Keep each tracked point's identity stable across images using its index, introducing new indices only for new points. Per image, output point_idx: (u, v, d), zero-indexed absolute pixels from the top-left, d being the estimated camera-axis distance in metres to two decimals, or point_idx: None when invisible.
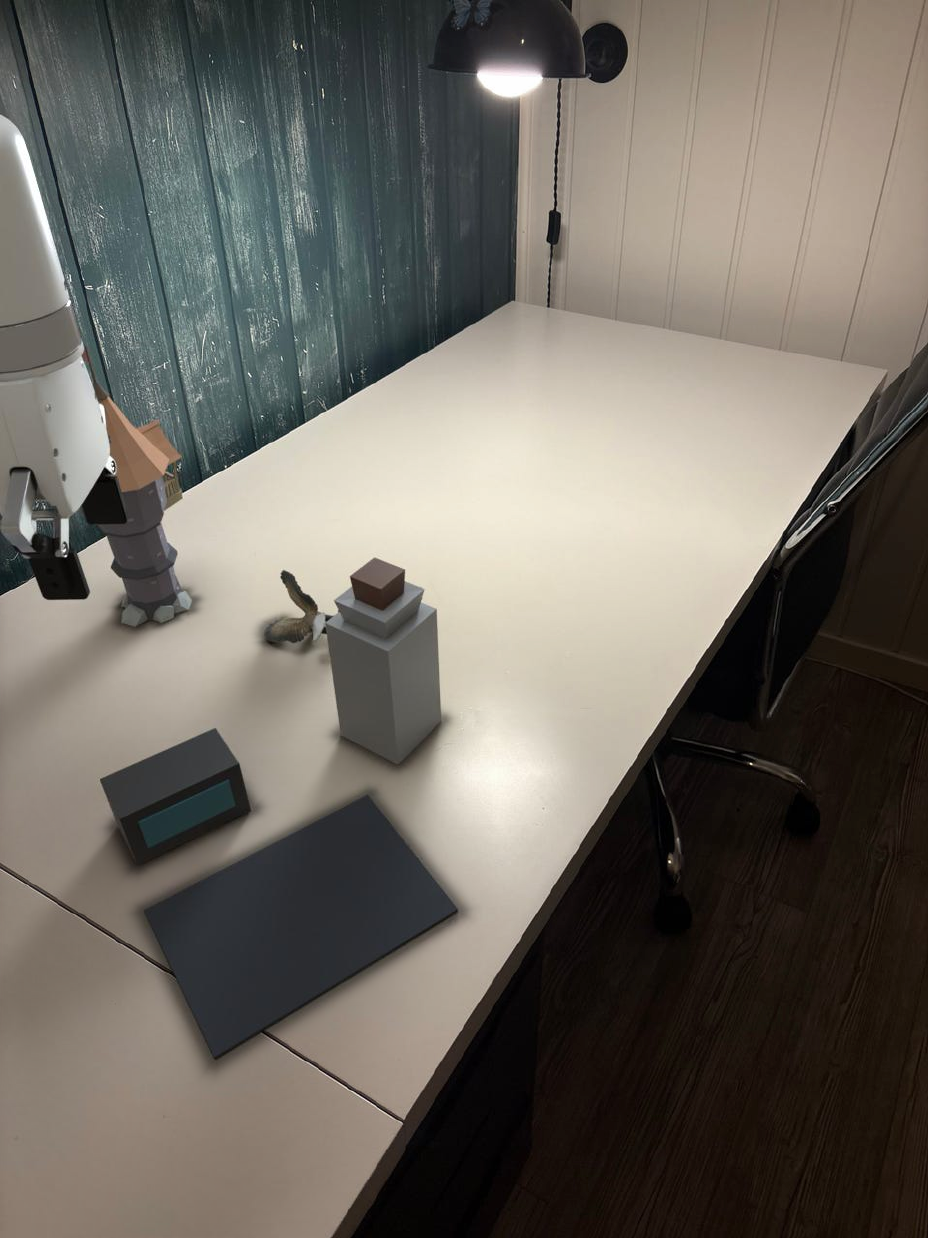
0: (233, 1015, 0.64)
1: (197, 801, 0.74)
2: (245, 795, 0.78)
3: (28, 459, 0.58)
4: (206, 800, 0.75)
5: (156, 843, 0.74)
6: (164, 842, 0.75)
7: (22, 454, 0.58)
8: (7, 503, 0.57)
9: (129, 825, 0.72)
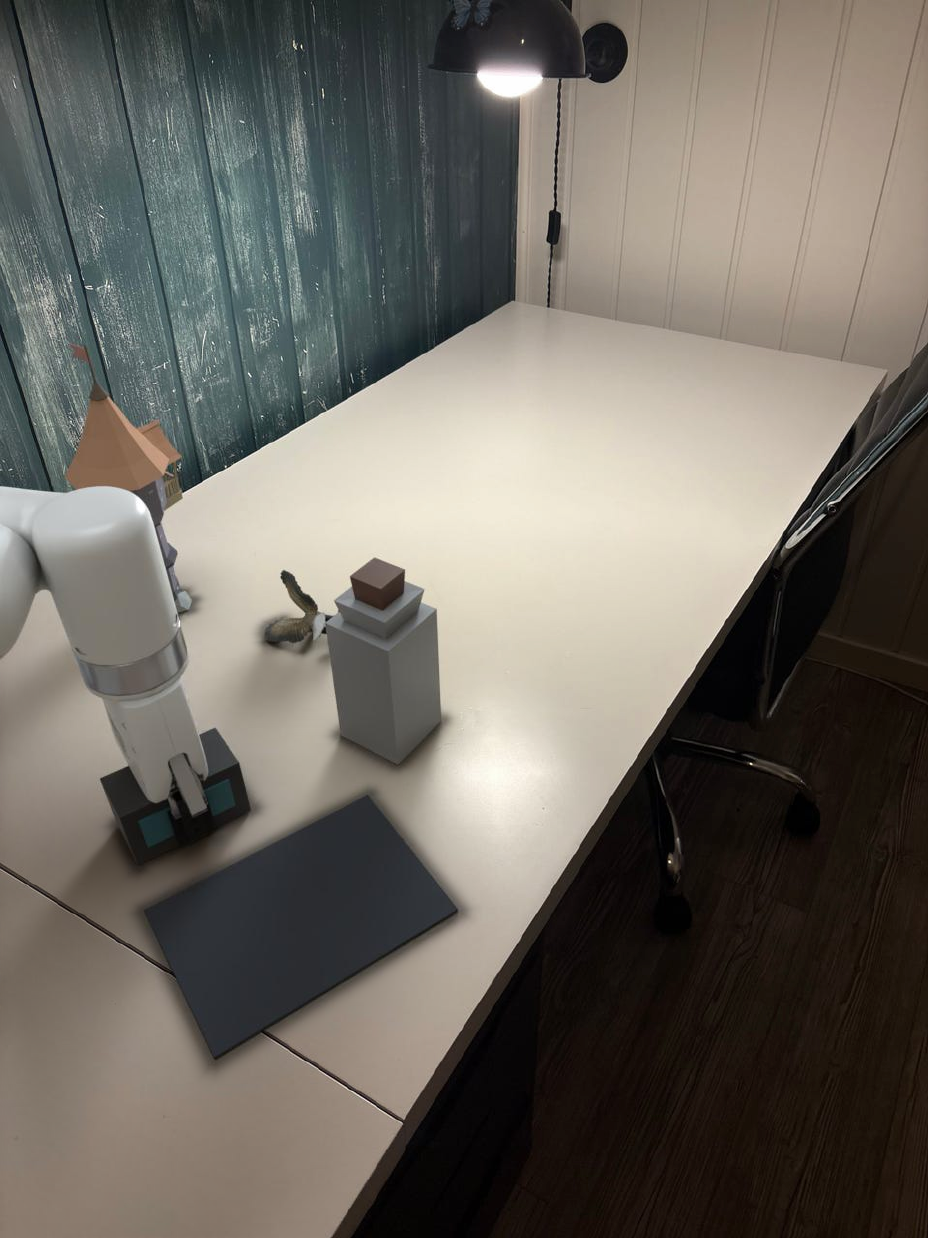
0: (233, 1015, 0.64)
1: None
2: (245, 794, 0.78)
3: (183, 746, 0.68)
4: None
5: (156, 843, 0.74)
6: (164, 841, 0.75)
7: (179, 744, 0.67)
8: (185, 794, 0.68)
9: (129, 824, 0.72)
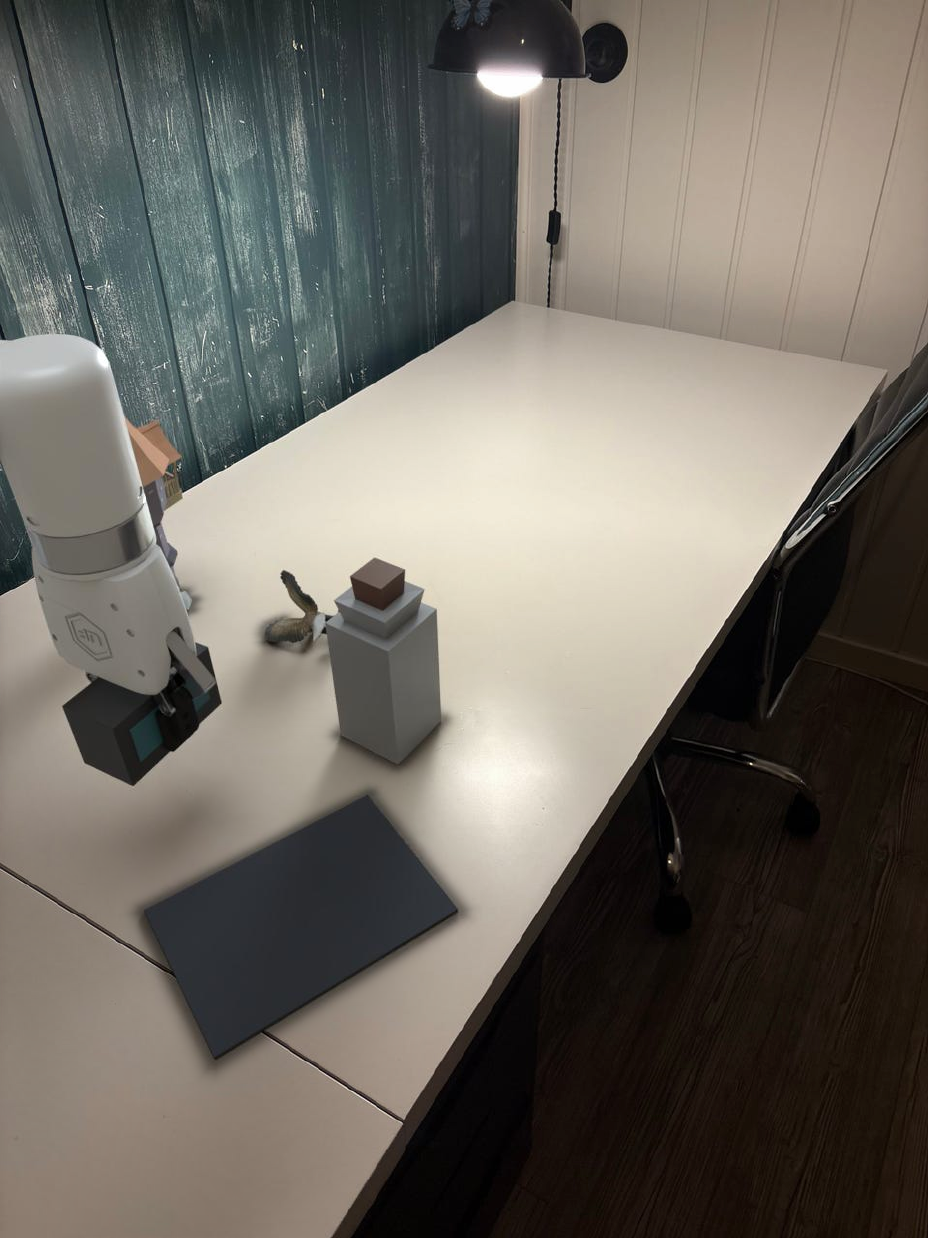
0: (233, 1015, 0.64)
1: None
2: (216, 685, 0.73)
3: (176, 619, 0.62)
4: None
5: (147, 755, 0.68)
6: (153, 752, 0.68)
7: (173, 617, 0.62)
8: (190, 670, 0.63)
9: (122, 736, 0.65)
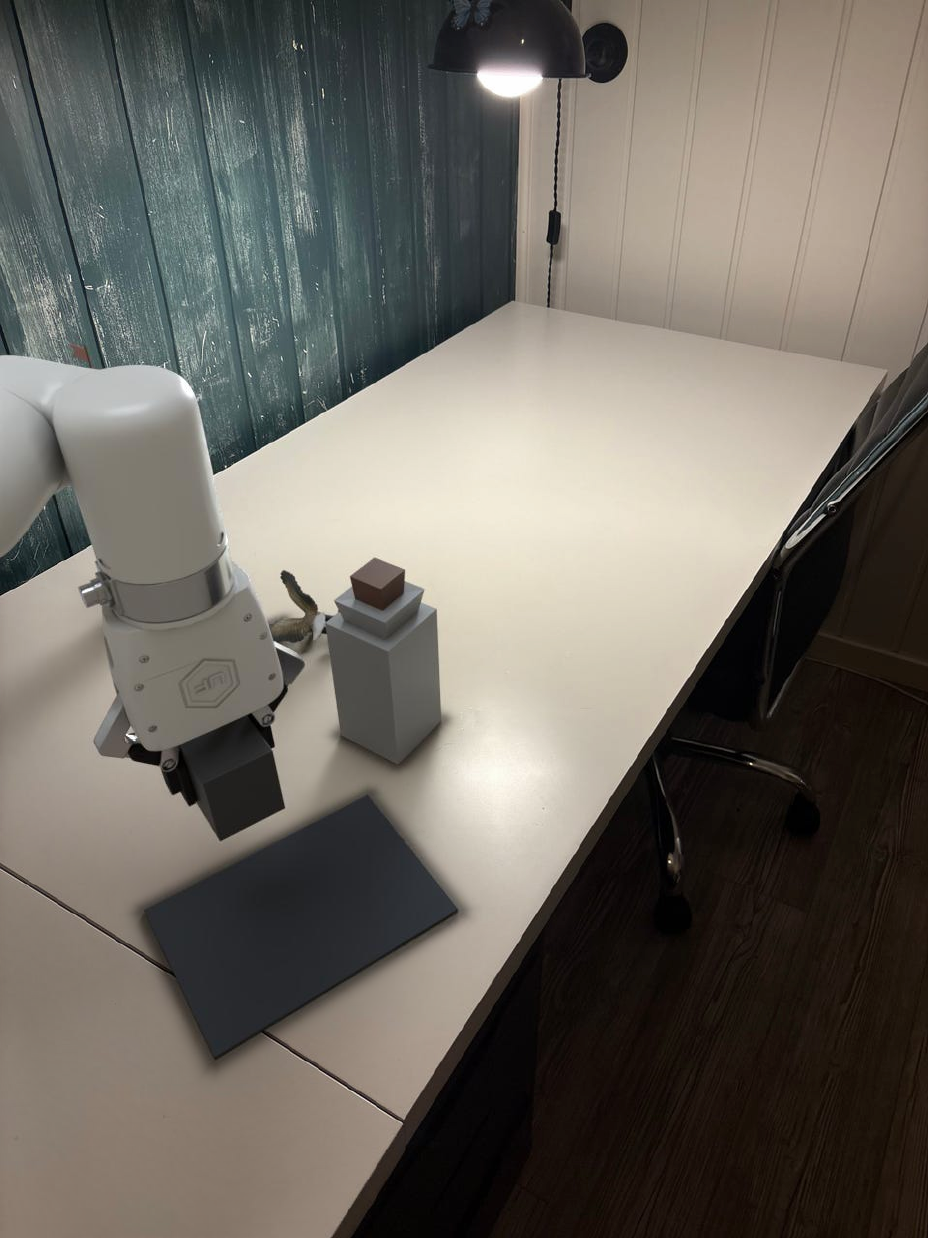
0: (233, 1015, 0.64)
1: None
2: None
3: None
4: None
5: None
6: None
7: None
8: (288, 652, 0.64)
9: None
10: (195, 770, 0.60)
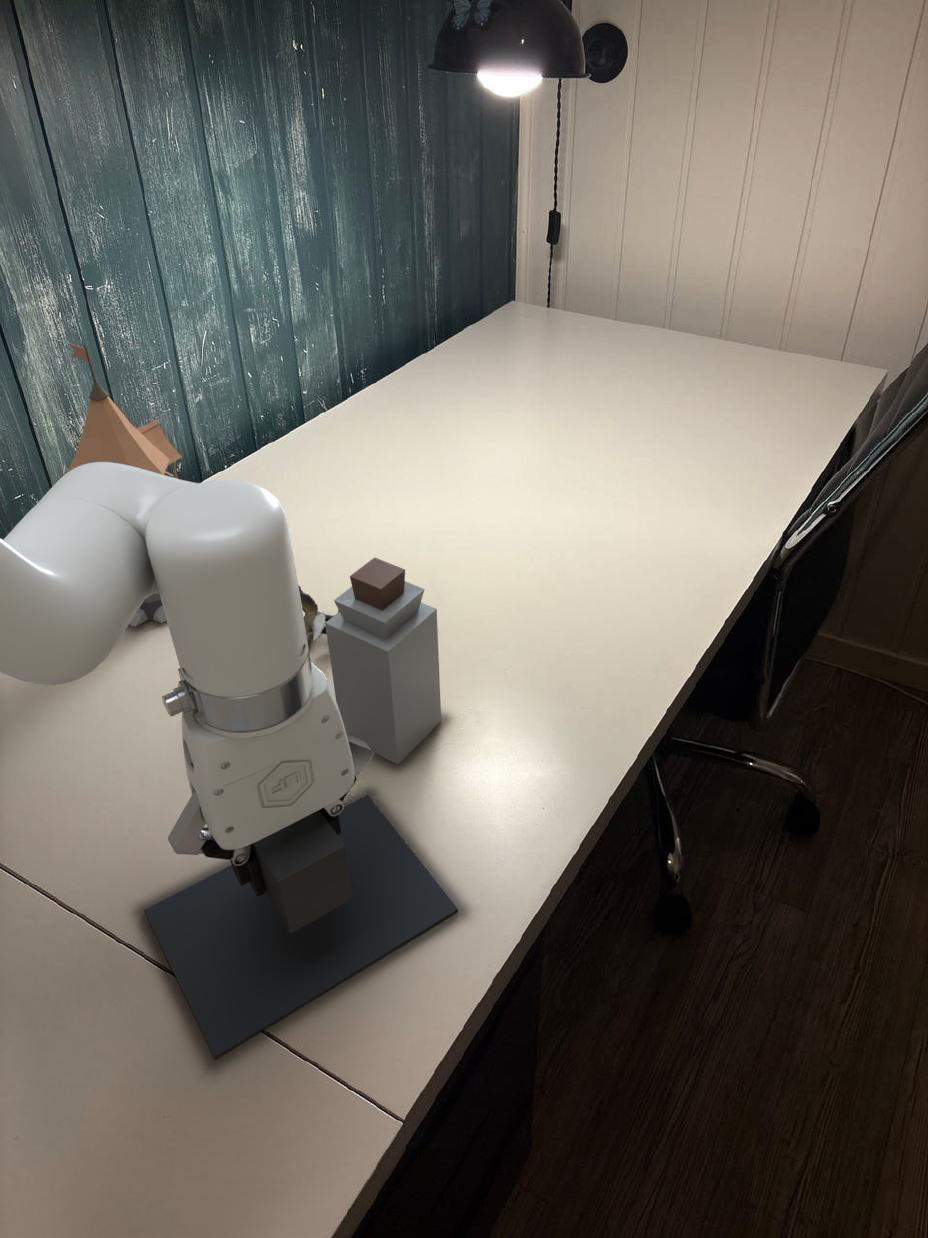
0: (233, 1015, 0.64)
1: None
2: None
3: None
4: None
5: None
6: None
7: None
8: (358, 744, 0.64)
9: None
10: (268, 867, 0.60)
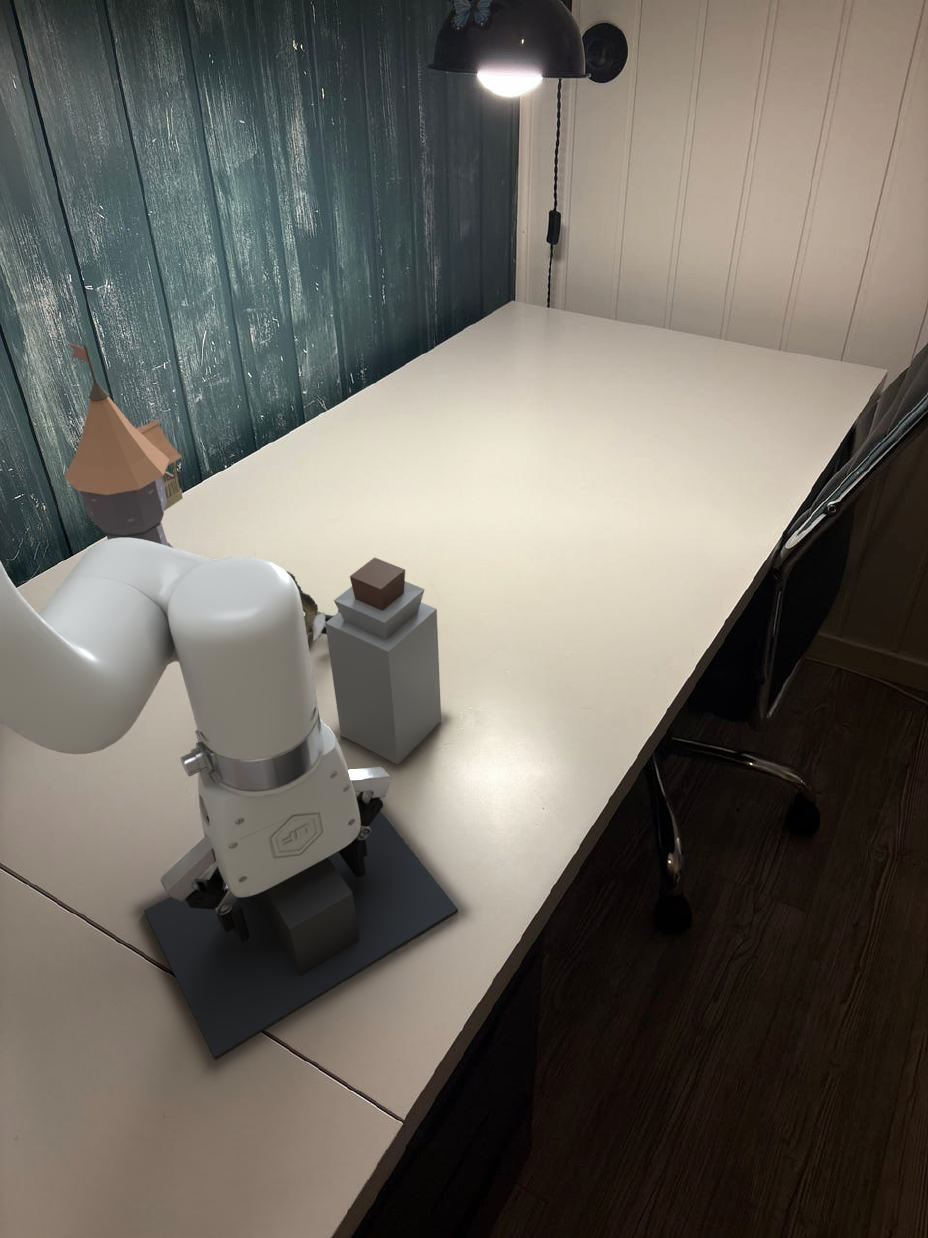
0: (233, 1015, 0.64)
1: None
2: None
3: None
4: None
5: None
6: None
7: None
8: (371, 777, 0.67)
9: None
10: (281, 914, 0.64)
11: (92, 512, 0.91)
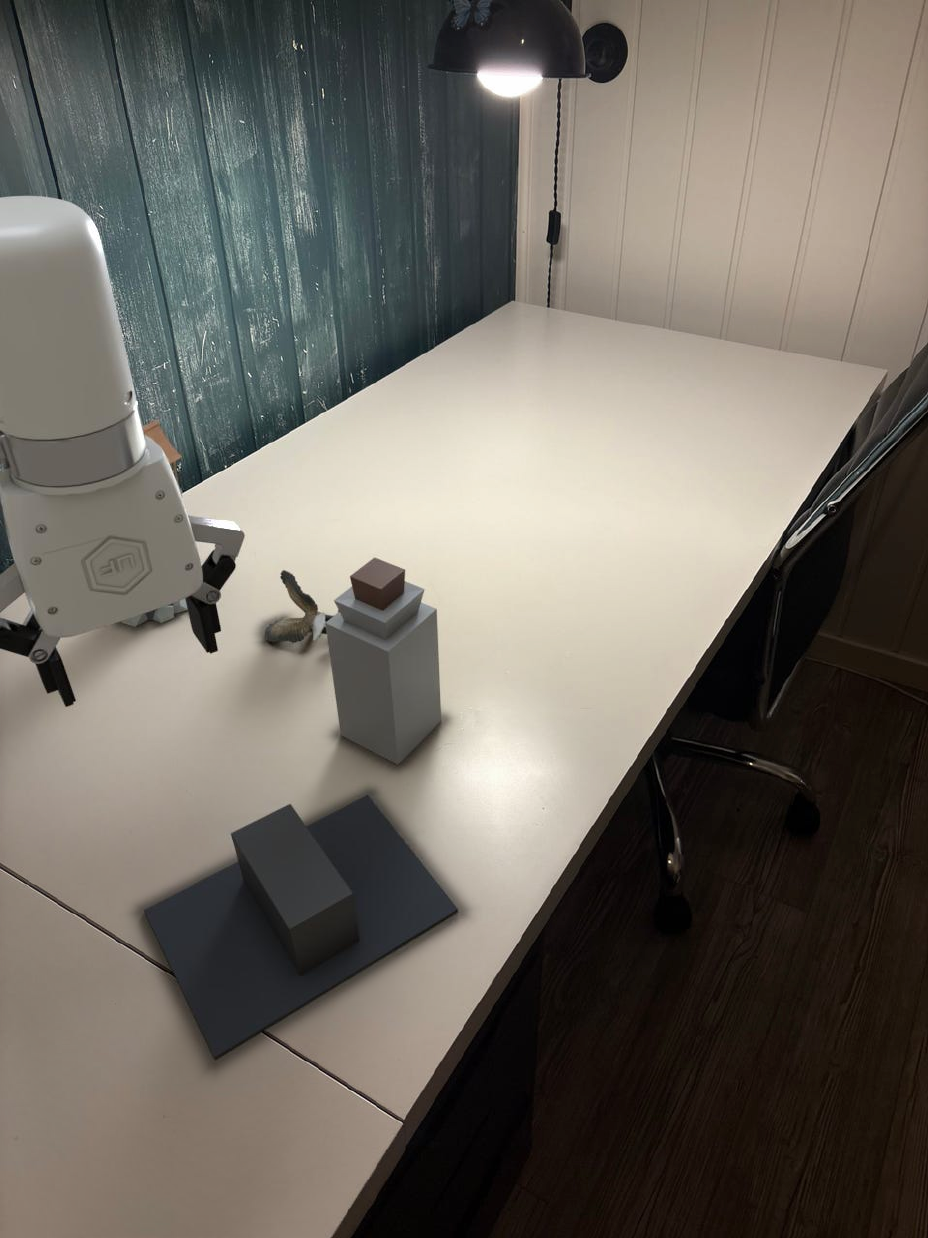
0: (233, 1015, 0.64)
1: None
2: None
3: None
4: None
5: None
6: None
7: None
8: (219, 526, 0.59)
9: None
10: (281, 914, 0.64)
11: None
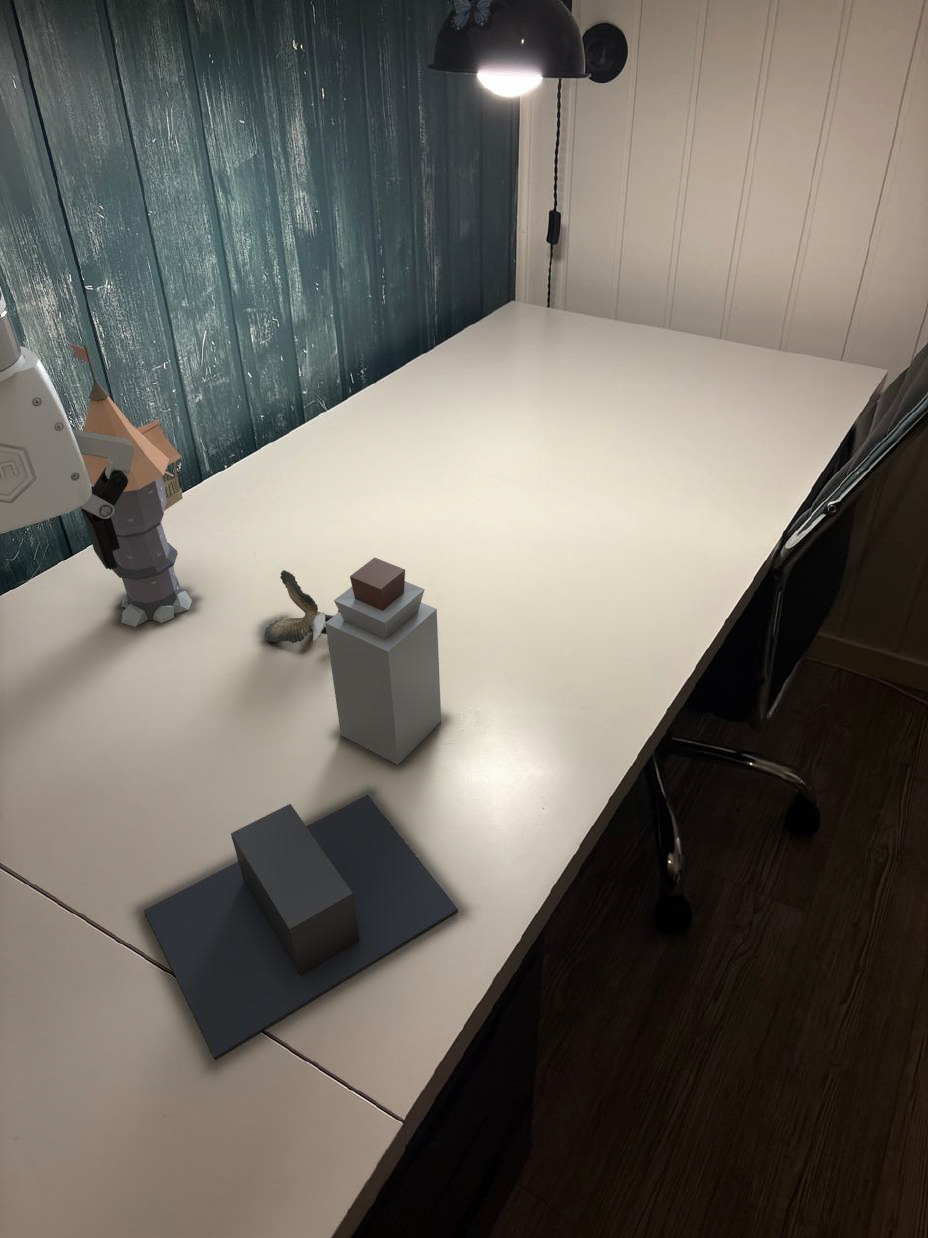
0: (233, 1015, 0.64)
1: None
2: None
3: None
4: None
5: None
6: None
7: None
8: (107, 440, 0.61)
9: None
10: (281, 914, 0.64)
11: None
